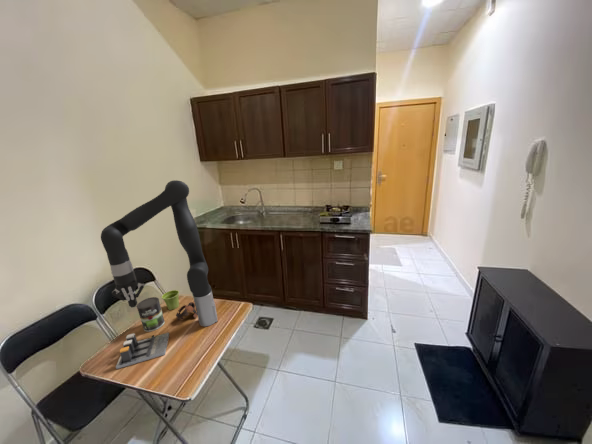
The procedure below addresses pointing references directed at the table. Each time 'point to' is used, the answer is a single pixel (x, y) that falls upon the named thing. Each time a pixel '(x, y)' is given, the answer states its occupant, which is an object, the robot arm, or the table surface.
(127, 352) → the breaker
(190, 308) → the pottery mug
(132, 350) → the block
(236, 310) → the table surface
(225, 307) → the table surface
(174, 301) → the plant pot
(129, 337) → the block
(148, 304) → the coffee can
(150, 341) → the breaker panel
